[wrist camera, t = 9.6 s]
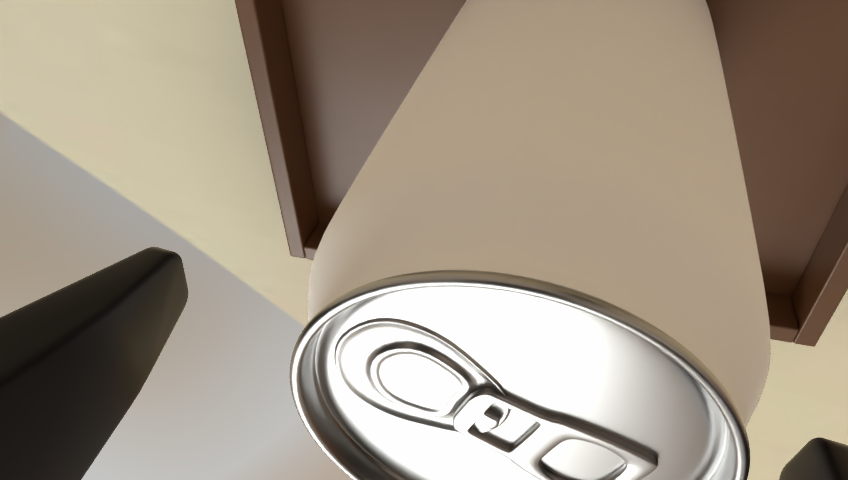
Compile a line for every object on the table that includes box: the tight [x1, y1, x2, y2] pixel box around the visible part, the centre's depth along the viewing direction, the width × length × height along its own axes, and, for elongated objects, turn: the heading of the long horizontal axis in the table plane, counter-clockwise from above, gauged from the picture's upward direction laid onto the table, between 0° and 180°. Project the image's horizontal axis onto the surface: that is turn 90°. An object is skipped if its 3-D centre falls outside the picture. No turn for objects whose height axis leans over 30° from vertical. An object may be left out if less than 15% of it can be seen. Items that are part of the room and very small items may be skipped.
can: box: [290, 0, 770, 480], centre depth 12 cm, size 6×6×12 cm
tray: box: [235, 0, 848, 346], centre depth 17 cm, size 17×15×2 cm
